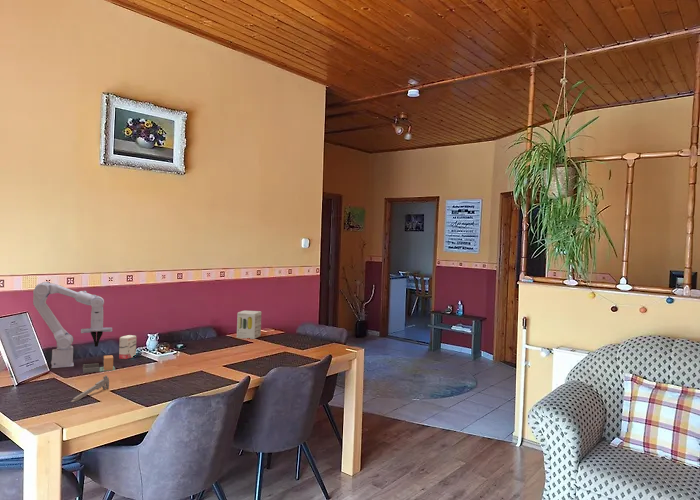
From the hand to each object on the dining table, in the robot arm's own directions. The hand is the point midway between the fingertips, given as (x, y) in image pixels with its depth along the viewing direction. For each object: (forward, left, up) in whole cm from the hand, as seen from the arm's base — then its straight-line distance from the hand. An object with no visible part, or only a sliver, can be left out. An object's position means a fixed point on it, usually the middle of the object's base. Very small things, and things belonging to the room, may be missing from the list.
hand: (96, 346), depth 254 cm
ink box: (+16, +10, -10) cm, 21 cm away
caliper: (-4, -54, -10) cm, 55 cm away
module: (+5, -13, -9) cm, 17 cm away
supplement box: (+97, +46, -10) cm, 108 cm away
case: (-3, -10, -9) cm, 14 cm away
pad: (+4, -13, -9) cm, 17 cm away
